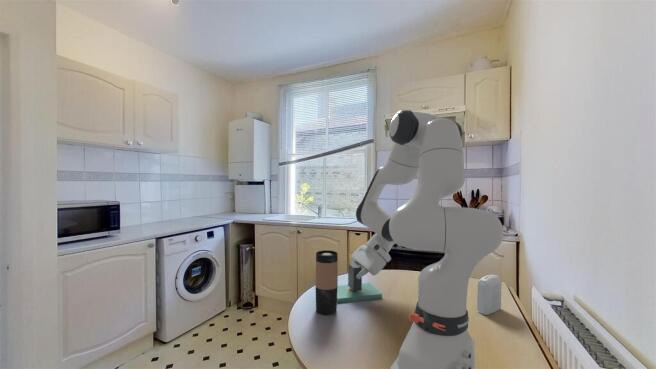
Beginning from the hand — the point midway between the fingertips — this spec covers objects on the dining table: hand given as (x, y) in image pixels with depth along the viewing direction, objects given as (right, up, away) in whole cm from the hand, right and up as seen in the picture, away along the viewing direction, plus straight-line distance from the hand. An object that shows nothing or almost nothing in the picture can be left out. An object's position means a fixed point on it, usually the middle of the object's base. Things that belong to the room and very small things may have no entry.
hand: (353, 274), depth 112 cm
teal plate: (+1, -8, 0) cm, 8 cm away
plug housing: (+1, -5, 0) cm, 5 cm away
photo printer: (+47, -9, -13) cm, 49 cm away
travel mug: (-11, -8, -14) cm, 19 cm away
